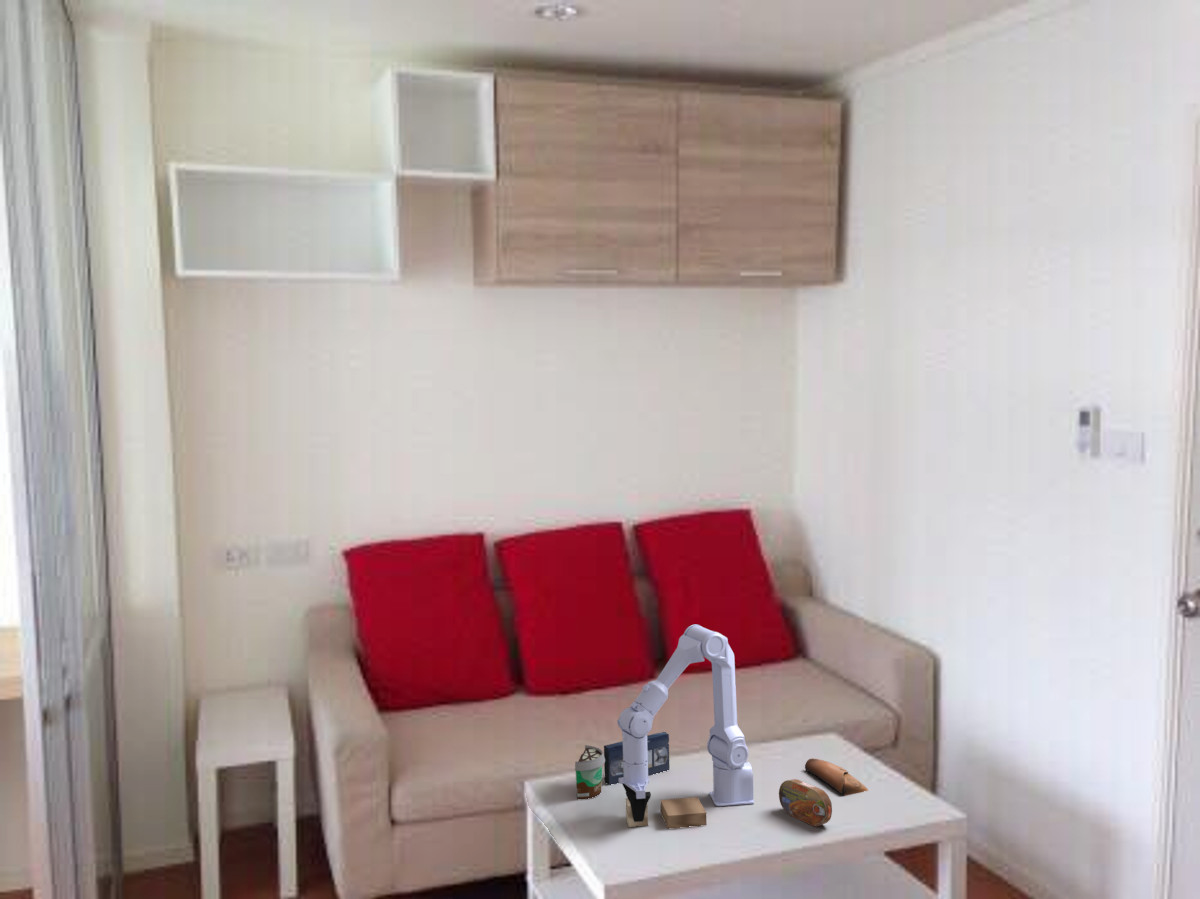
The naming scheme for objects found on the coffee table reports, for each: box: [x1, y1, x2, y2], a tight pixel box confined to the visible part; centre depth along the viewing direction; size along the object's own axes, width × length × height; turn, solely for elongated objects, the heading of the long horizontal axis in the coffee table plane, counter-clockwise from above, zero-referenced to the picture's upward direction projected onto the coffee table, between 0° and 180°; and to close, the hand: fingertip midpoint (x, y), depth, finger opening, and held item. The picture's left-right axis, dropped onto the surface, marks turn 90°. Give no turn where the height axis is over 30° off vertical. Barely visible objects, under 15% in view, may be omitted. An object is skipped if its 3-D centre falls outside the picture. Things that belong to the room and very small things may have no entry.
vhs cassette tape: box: [603, 731, 670, 786], centre depth 285 cm, size 18×3×10 cm, turn 118°
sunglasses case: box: [804, 758, 869, 797], centre depth 280 cm, size 18×7×7 cm
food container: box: [574, 744, 605, 800], centre depth 276 cm, size 12×6×10 cm, turn 168°
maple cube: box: [625, 798, 649, 828], centre depth 258 cm, size 4×4×5 cm
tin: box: [778, 778, 833, 827], centre depth 258 cm, size 15×3×8 cm, turn 35°
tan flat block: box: [659, 796, 707, 830], centre depth 260 cm, size 9×9×4 cm
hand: (636, 816), depth 258 cm, fingers closed on maple cube, 4 cm apart
